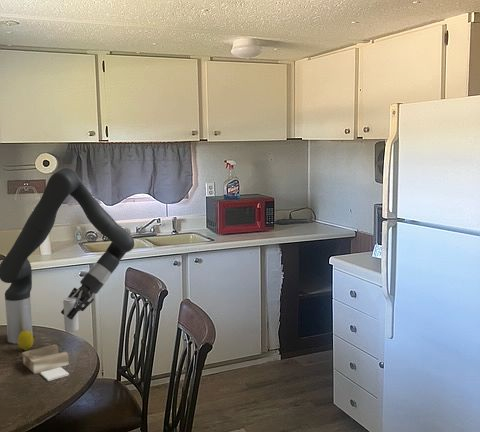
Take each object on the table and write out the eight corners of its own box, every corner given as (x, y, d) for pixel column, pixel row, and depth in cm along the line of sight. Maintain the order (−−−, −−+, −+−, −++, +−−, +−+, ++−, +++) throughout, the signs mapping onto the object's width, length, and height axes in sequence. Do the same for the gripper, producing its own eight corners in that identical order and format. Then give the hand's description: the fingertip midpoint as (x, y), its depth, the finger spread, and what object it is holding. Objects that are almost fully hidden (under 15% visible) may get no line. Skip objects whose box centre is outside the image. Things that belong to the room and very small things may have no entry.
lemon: (15, 352, 203) (13, 331, 202) (26, 346, 208) (24, 326, 207) (26, 354, 201) (25, 333, 200) (37, 348, 206) (36, 328, 205)
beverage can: (74, 333, 194) (73, 301, 193) (62, 332, 195) (60, 300, 194) (81, 328, 199) (79, 297, 197) (69, 328, 200) (67, 296, 198)
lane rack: (22, 363, 193) (22, 352, 192) (56, 354, 200) (55, 344, 200) (34, 373, 184) (33, 362, 183) (68, 364, 191) (68, 353, 191)
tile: (40, 374, 183) (40, 372, 183) (60, 368, 188) (60, 367, 188) (48, 381, 178) (48, 379, 178) (68, 375, 183) (68, 373, 182)
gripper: (80, 268, 204) (50, 305, 199) (97, 276, 194) (66, 315, 188) (94, 280, 209) (65, 316, 203) (111, 287, 198) (81, 327, 192)
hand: (66, 316), depth 195 cm, fingers closed on beverage can, 4 cm apart
